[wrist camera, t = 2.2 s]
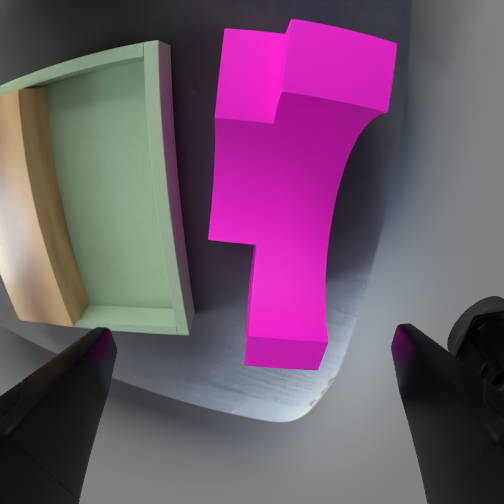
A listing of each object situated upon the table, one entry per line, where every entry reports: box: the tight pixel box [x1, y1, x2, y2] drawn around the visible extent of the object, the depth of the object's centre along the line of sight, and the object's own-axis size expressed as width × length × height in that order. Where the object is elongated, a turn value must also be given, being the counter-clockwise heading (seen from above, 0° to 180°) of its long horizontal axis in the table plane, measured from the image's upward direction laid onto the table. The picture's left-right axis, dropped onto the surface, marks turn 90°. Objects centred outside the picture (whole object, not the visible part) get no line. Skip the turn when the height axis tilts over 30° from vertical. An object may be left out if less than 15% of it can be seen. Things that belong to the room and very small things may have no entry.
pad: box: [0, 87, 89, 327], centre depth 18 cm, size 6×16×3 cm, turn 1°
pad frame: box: [0, 40, 195, 335], centre depth 18 cm, size 15×18×2 cm
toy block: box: [208, 19, 397, 370], centre depth 15 cm, size 15×6×8 cm, turn 174°
